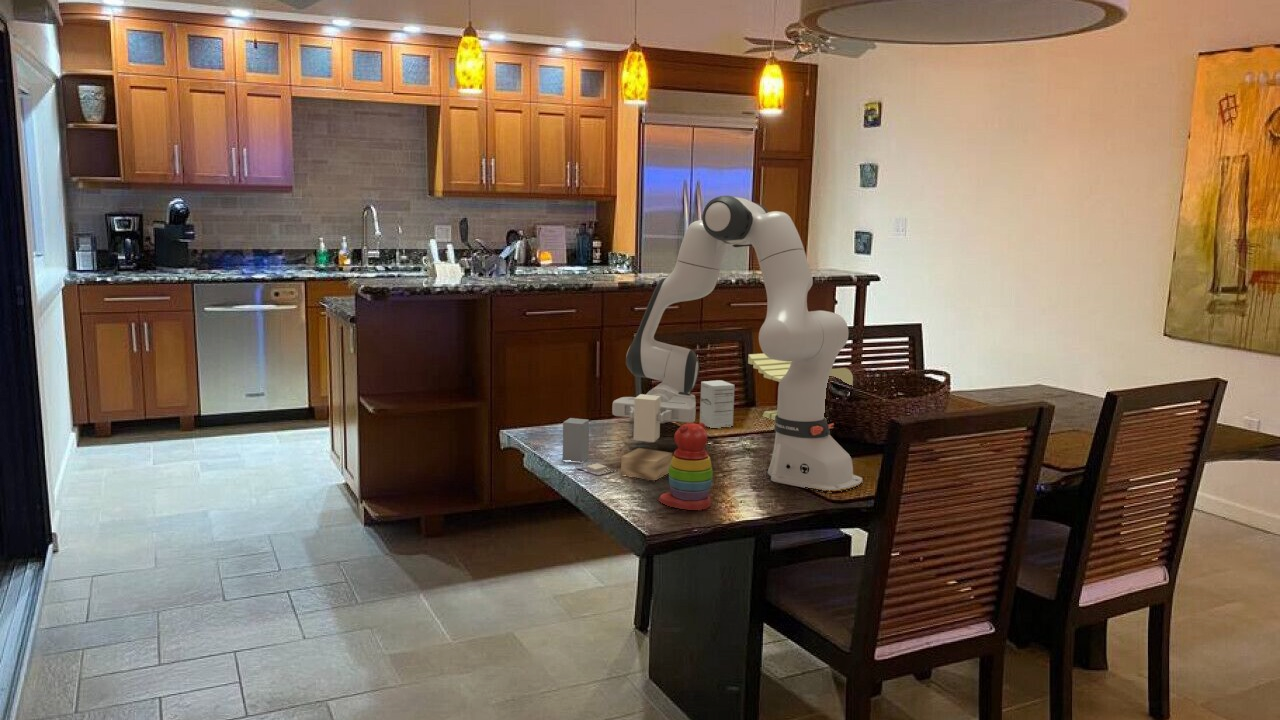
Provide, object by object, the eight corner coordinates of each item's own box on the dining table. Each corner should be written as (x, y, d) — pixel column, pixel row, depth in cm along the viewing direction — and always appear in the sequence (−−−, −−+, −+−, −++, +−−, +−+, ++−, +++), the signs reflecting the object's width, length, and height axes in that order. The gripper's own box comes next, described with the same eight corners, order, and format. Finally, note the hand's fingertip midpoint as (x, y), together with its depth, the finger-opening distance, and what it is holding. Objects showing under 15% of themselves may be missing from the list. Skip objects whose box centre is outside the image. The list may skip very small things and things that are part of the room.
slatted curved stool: (850, 427, 277) (853, 367, 274) (805, 432, 270) (809, 370, 267) (788, 406, 304) (790, 351, 301) (746, 411, 296) (748, 354, 293)
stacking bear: (697, 494, 212) (700, 415, 209) (723, 507, 203) (725, 425, 200) (655, 500, 207) (657, 420, 204) (679, 514, 198) (681, 430, 195)
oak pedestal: (671, 473, 229) (672, 452, 228) (655, 482, 221) (656, 461, 220) (638, 467, 233) (638, 447, 232) (621, 477, 225) (621, 456, 224)
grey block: (588, 458, 239) (588, 419, 237) (581, 463, 234) (582, 424, 233) (569, 456, 240) (569, 418, 239) (562, 461, 236) (562, 422, 234)
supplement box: (698, 423, 278) (700, 381, 276) (721, 421, 281) (722, 379, 279) (711, 429, 272) (712, 385, 270) (733, 427, 275) (735, 384, 273)
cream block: (659, 437, 227) (660, 395, 225) (654, 442, 222) (655, 400, 221) (639, 435, 228) (640, 394, 227) (633, 440, 224) (634, 398, 222)
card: (617, 471, 228) (617, 467, 228) (598, 476, 224) (598, 472, 224) (594, 464, 234) (594, 460, 234) (576, 468, 230) (576, 464, 229)
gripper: (621, 388, 239) (604, 399, 226) (701, 395, 234) (688, 407, 220) (620, 413, 240) (603, 425, 227) (700, 420, 235) (687, 433, 222)
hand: (646, 416), depth 224 cm, fingers closed on cream block, 5 cm apart
